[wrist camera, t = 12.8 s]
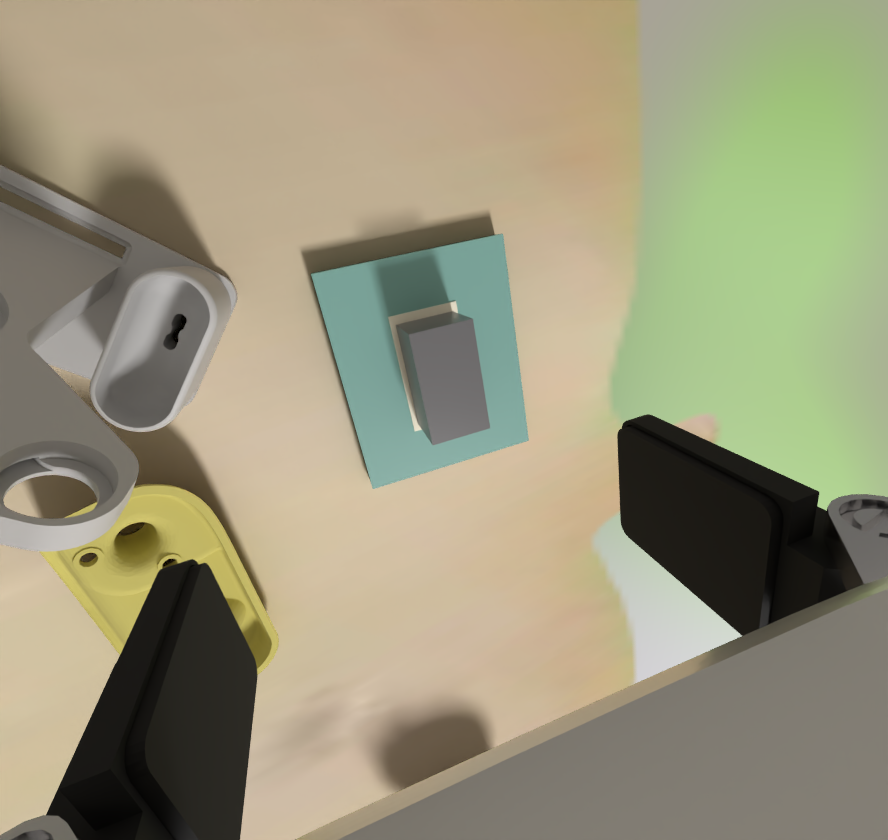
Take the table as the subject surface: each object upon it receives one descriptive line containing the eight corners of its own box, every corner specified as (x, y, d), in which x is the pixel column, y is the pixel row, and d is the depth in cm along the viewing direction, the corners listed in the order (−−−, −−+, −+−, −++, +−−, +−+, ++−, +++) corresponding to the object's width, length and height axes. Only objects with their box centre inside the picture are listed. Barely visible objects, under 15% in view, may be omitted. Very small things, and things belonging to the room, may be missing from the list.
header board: (370, 480, 38) (377, 504, 35) (310, 273, 32) (311, 275, 28) (521, 434, 41) (542, 451, 37) (495, 234, 34) (517, 232, 31)
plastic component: (286, 652, 39) (163, 748, 33) (253, 607, 44) (142, 683, 38) (190, 459, 30) (-2, 546, 24) (162, 431, 35) (-1, 497, 29)
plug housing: (418, 424, 36) (432, 445, 32) (395, 324, 33) (408, 334, 29) (469, 409, 37) (490, 428, 33) (452, 311, 34) (472, 318, 30)
